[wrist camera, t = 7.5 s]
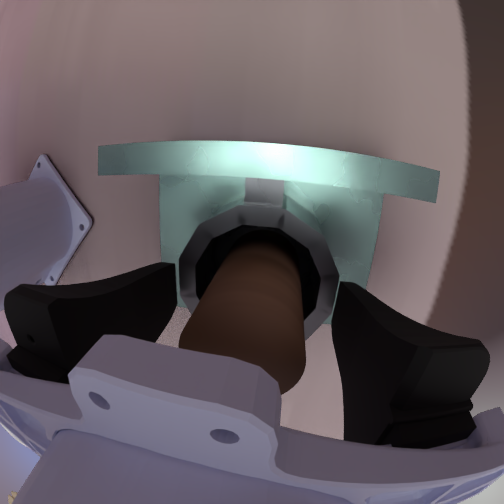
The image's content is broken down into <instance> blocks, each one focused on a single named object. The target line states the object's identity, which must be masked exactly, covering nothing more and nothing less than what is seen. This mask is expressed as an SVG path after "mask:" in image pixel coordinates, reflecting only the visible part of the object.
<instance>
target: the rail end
mask: <svg viewBox="0 0 504 504" xmlns="http://www.w3.org/2000/svg"><path fill="white" fill-rule="evenodd" d="M179 348H181V349H186V350H191V351H197V352H202V353H208V354H214V355H220V356H227V357H233V358H235V359H238V360H241V361H244V362H248V363H251V364H254V365H257V366H260V367H261V368H262V369H263V370H264V371H266V372H267V373H268V374H269V375H270V376H271V377H272V378H274V379H275V380H276V381H277V382H278V385H279V389H280V394H281V395H282V394H284V393H285V392H287V391H289V390H290V389H291V388H293V387H294V386H295V385H296V384H297V382H298V381H299V380H300V378H301V377H302V375H303V373H304V369H305V365H306V351H305V334H304V319H303V306H302V293H301V281H300V270H299V260H298V255H297V252H296V250H295V248H294V246H293V245H292V244H291V242H290V241H289V240H288V239H287V238H285V237H284V236H282V235H281V234H279V233H276V232H274V231H270V230H254V231H251V232H248V233H246V234H244V235H242V236H241V237H240V238H238V239H237V240H236V241H235V242H234V244H233V245H232V247H231V249H230V250H229V252H228V254H227V255H226V257H225V259H224V260H223V262H222V264H221V265H220V267H219V269H218V270H217V272H216V274H215V276H214V277H213V279H212V281H211V282H210V284H209V286H208V288H207V289H206V291H205V293H204V294H203V296H202V298H201V300H200V301H199V303H198V305H197V307H196V308H195V310H194V312H193V313H192V315H191V317H190V319H189V320H188V322H187V324H186V326H185V327H184V329H183V331H182V333H181V336H180V339H179Z"/></svg>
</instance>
